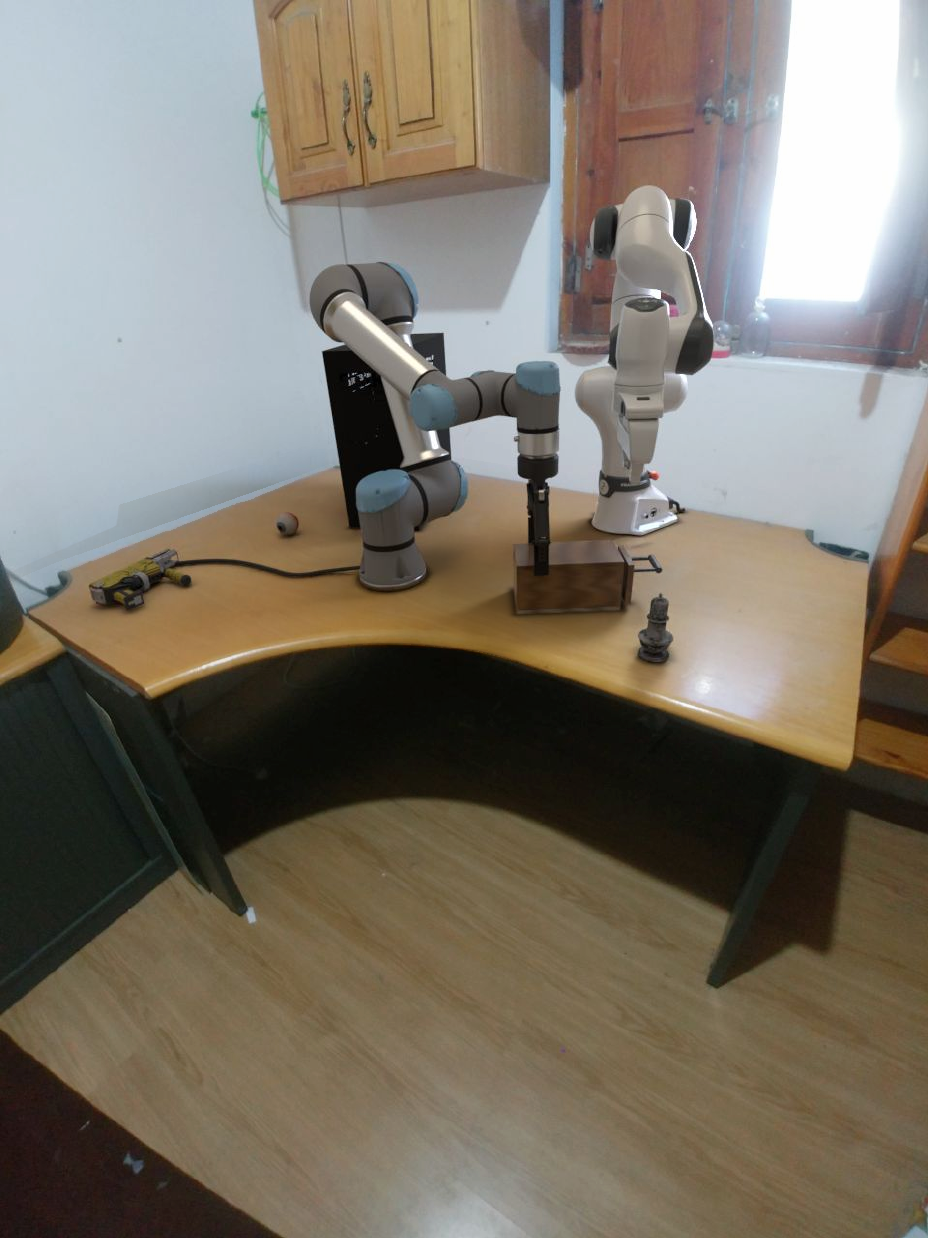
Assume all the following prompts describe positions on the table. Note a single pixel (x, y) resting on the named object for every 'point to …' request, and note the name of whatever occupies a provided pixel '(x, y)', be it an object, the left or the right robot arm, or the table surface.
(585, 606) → the brown wooden box
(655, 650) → the stone chess piece
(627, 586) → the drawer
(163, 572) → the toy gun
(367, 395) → the black piece
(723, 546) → the table surface
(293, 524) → the eyeball
